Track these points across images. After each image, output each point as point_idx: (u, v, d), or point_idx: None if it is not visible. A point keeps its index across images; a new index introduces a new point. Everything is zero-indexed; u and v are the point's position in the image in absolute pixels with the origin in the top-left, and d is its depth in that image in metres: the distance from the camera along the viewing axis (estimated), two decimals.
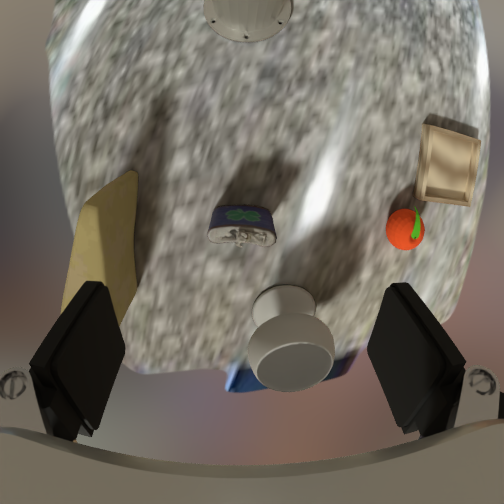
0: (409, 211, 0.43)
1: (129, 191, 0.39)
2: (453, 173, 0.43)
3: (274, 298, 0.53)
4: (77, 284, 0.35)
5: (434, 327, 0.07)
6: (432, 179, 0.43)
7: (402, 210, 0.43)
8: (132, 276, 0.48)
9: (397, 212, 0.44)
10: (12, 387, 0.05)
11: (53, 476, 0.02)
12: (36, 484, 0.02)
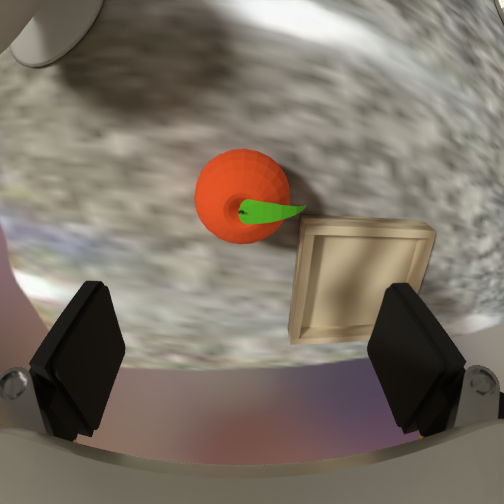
0: None
1: None
2: (345, 296, 0.29)
3: None
4: None
5: (434, 327, 0.07)
6: (337, 252, 0.26)
7: (286, 180, 0.21)
8: None
9: None
10: (12, 387, 0.05)
11: (53, 476, 0.02)
12: (36, 484, 0.02)
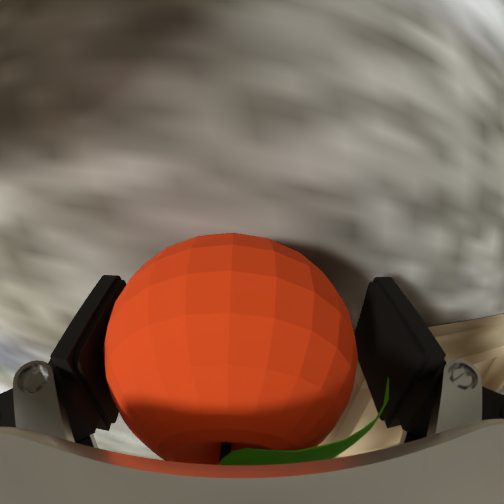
0: None
1: None
2: None
3: None
4: None
5: (414, 320, 0.07)
6: None
7: None
8: None
9: None
10: (32, 381, 0.05)
11: (53, 476, 0.02)
12: (36, 484, 0.02)
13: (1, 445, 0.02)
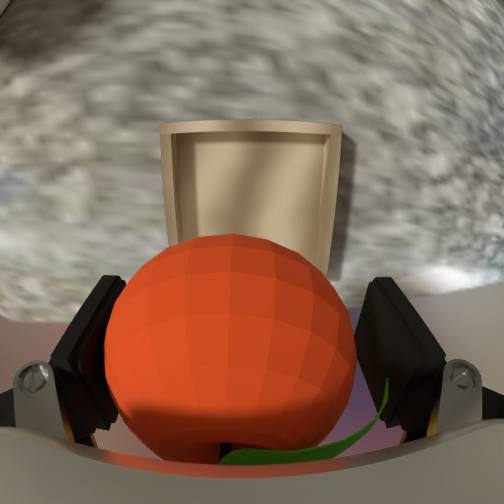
0: None
1: None
2: (236, 222, 0.24)
3: None
4: None
5: (414, 320, 0.07)
6: (212, 161, 0.22)
7: None
8: None
9: None
10: (32, 381, 0.05)
11: (53, 476, 0.02)
12: (36, 484, 0.02)
13: (1, 445, 0.02)
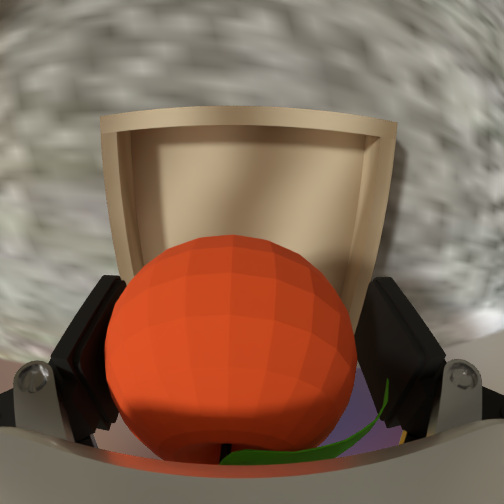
0: None
1: None
2: None
3: None
4: None
5: (414, 320, 0.07)
6: (187, 174, 0.14)
7: None
8: None
9: None
10: (32, 381, 0.05)
11: (53, 476, 0.02)
12: (36, 484, 0.02)
13: (1, 445, 0.02)
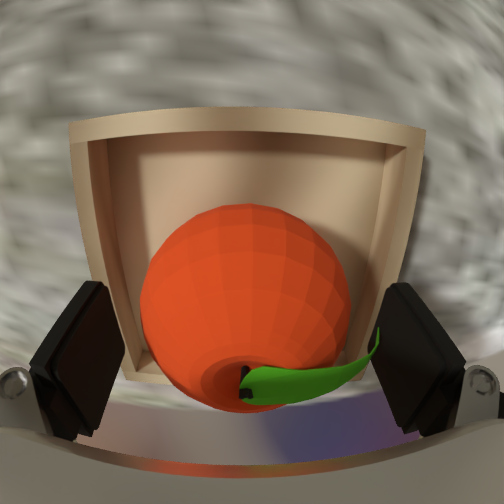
0: None
1: None
2: None
3: None
4: None
5: (434, 327, 0.07)
6: (174, 190, 0.11)
7: None
8: None
9: None
10: (12, 387, 0.05)
11: (53, 476, 0.02)
12: (36, 484, 0.02)
13: (1, 445, 0.02)
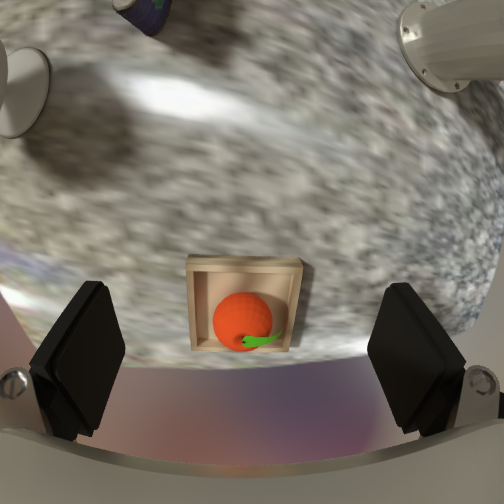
0: (272, 323, 0.33)
1: None
2: None
3: (33, 69, 0.22)
4: None
5: (434, 327, 0.07)
6: (219, 282, 0.35)
7: None
8: None
9: (267, 306, 0.33)
10: (12, 387, 0.05)
11: (53, 476, 0.02)
12: (36, 484, 0.02)
13: (1, 445, 0.02)
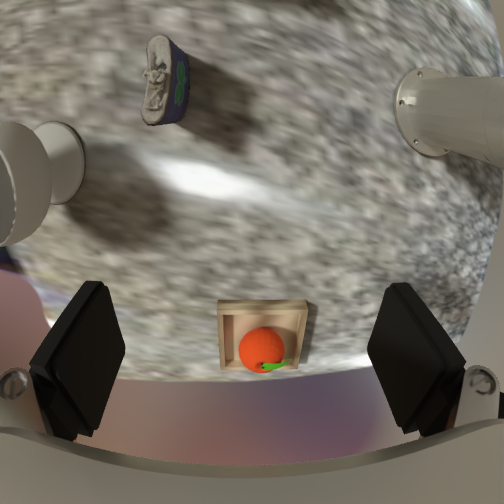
0: (284, 351, 0.42)
1: None
2: None
3: (66, 146, 0.31)
4: None
5: (434, 327, 0.07)
6: (242, 320, 0.44)
7: (283, 343, 0.42)
8: None
9: (280, 338, 0.42)
10: (12, 387, 0.05)
11: (53, 476, 0.02)
12: (36, 484, 0.02)
13: (1, 445, 0.02)
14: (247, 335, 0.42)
